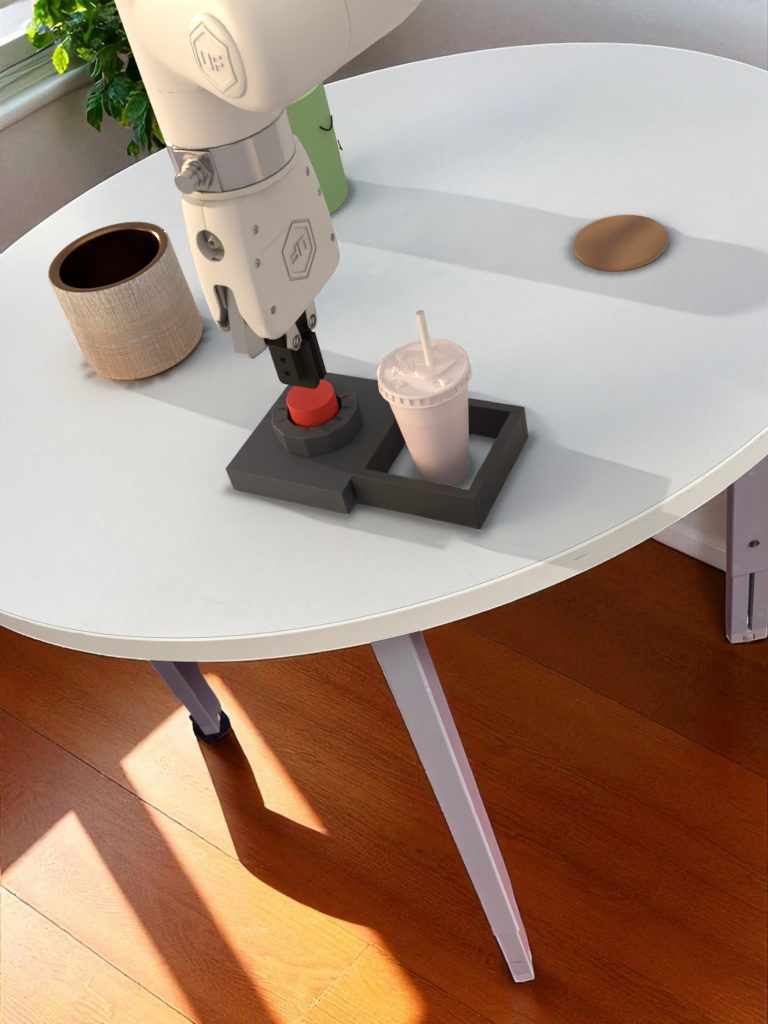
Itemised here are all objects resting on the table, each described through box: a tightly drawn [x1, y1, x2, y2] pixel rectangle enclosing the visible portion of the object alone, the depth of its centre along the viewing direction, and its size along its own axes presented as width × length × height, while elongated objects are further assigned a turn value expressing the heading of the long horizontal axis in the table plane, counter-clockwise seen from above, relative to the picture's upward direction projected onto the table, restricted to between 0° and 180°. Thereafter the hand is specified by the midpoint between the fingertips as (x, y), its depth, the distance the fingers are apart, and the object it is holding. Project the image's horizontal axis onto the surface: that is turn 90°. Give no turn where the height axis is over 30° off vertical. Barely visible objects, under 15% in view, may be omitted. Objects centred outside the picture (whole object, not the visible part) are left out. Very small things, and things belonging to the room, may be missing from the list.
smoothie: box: [376, 309, 473, 487], centre depth 73 cm, size 6×6×14 cm
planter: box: [47, 221, 204, 381], centre depth 93 cm, size 11×11×10 cm
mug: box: [286, 81, 349, 215], centre depth 107 cm, size 13×10×12 cm
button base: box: [225, 371, 392, 515], centre depth 81 cm, size 10×12×4 cm
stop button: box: [286, 380, 339, 428], centre depth 79 cm, size 4×4×2 cm
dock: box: [350, 397, 529, 530], centre depth 77 cm, size 10×10×3 cm
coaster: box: [573, 214, 669, 272], centre depth 93 cm, size 8×8×1 cm
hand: (303, 379), depth 78 cm, fingers closed
